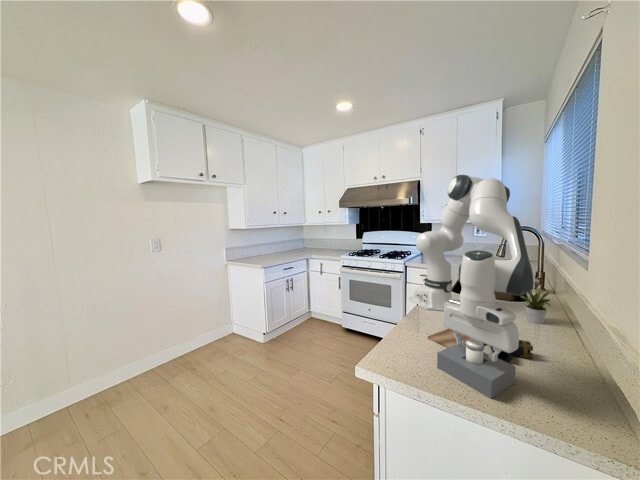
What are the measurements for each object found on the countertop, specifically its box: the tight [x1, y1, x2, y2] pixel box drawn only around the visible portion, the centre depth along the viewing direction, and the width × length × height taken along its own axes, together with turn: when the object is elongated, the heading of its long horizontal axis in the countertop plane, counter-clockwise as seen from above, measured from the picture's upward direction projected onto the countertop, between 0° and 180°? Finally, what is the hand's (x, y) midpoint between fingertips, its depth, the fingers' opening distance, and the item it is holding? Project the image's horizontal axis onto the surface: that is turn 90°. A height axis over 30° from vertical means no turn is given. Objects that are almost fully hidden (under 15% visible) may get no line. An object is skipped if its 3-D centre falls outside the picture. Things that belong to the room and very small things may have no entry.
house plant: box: [520, 285, 554, 325], centre depth 110 cm, size 14×14×16 cm
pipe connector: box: [489, 339, 534, 364], centre depth 87 cm, size 12×5×15 cm
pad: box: [427, 328, 487, 349], centre depth 96 cm, size 14×14×1 cm
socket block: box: [436, 344, 517, 399], centre depth 76 cm, size 16×12×5 cm
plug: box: [466, 339, 485, 366], centre depth 76 cm, size 4×4×10 cm
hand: (475, 352), depth 76 cm, fingers open, 8 cm apart
